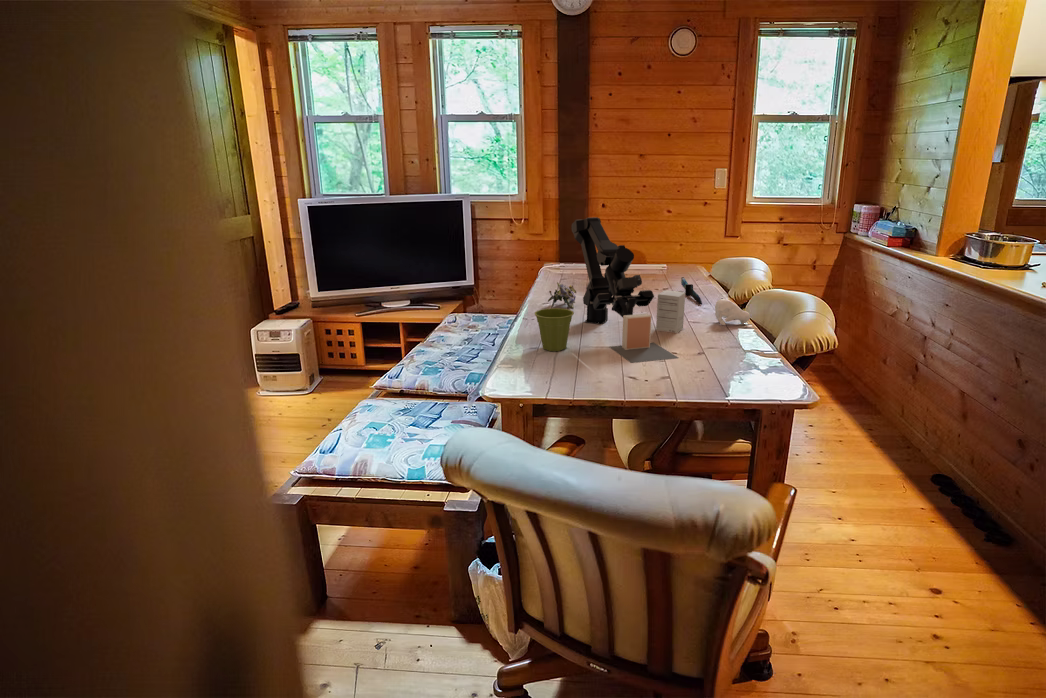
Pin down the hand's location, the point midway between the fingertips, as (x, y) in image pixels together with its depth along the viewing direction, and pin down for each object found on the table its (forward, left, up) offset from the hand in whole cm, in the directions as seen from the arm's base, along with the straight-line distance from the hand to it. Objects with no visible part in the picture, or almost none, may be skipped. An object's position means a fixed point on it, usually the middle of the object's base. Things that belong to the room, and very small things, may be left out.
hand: (630, 322), depth 189 cm
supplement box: (+8, +20, -7) cm, 23 cm away
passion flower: (-37, +36, -7) cm, 52 cm away
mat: (+6, -8, -7) cm, 12 cm away
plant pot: (-20, -14, -7) cm, 25 cm away
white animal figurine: (+26, +36, -7) cm, 45 cm away
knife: (+6, +72, -7) cm, 73 cm away
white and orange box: (+3, -4, -6) cm, 8 cm away
